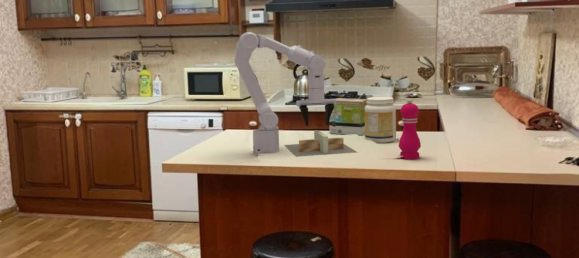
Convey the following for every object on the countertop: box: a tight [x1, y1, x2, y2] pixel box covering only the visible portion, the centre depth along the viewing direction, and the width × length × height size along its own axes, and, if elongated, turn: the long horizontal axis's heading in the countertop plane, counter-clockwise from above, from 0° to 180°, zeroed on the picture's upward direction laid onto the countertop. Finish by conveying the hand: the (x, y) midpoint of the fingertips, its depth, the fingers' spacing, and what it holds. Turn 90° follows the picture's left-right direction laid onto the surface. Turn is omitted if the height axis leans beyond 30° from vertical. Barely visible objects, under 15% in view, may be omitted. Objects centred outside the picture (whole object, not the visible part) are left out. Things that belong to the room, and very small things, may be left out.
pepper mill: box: [398, 98, 422, 161], centre depth 190 cm, size 7×7×20 cm
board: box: [283, 143, 358, 158], centre depth 208 cm, size 22×23×1 cm
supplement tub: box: [364, 96, 397, 144], centre depth 224 cm, size 12×12×17 cm
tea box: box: [328, 97, 368, 136], centre depth 244 cm, size 15×10×15 cm
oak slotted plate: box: [298, 137, 345, 152], centre depth 204 cm, size 16×2×4 cm, turn 101°
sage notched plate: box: [313, 130, 329, 154], centre depth 204 cm, size 14×2×6 cm, turn 11°
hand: (317, 125), depth 208 cm, fingers open, 7 cm apart
